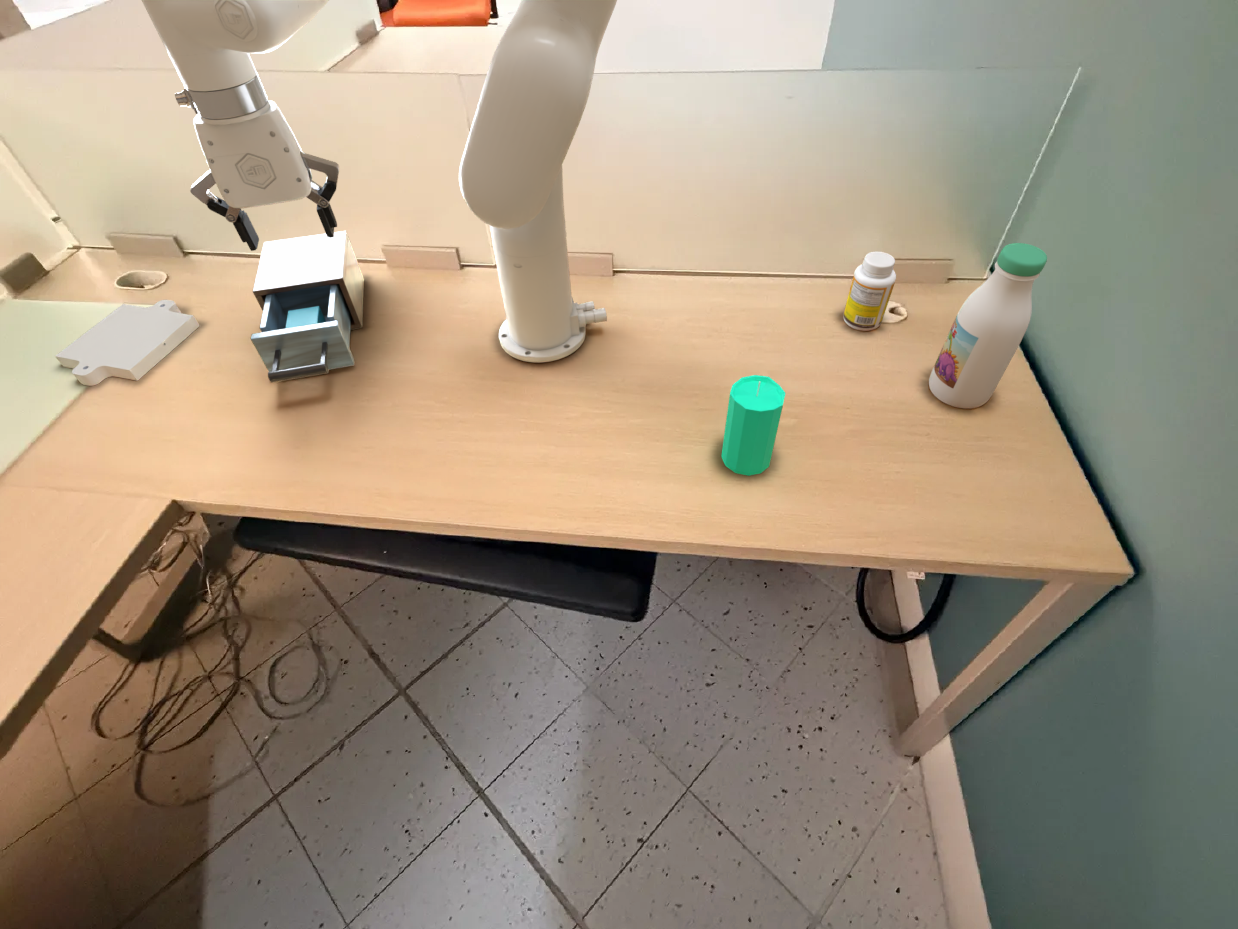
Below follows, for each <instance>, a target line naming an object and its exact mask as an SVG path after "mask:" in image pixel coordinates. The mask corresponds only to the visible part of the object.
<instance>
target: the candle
mask: <svg viewBox="0 0 1238 929" xmlns="http://www.w3.org/2000/svg"><path fill="white" fill-rule="evenodd" d="M785 398H786V391H785V390H784V388H782V386H781V385H780V384H779V383H778V382H776V381H775V379H772V378H771V377H770V376H768V375H759V374H753V375H747V376H743V377H740V378H739V379H737V381H735V382H734V383H733V384H732V385H731V388H730V391H729V396H728V404H727V411H726V418H725V425H724V434H723V440H722V446H721V455H720V458H721V460H722V462H723V464H724V466H725V467H726V468H727V469H729V470H730V471H731V472H733V473H734V474H738V475H743V476H746V477H750V476H756V475H760V474H762V473H763V472H765V471H766V470H767V469H768V468H770V465H771V460H772V456H773V452H774V446H775V443H776V438H777V433H778V429H779V425H780V421H781V415H782V411H783V406H784V403H785Z"/></svg>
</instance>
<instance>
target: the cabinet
mask: <svg viewBox="0 0 1238 929" xmlns="http://www.w3.org/2000/svg"><path fill="white" fill-rule="evenodd" d="M334 284H339V285H340V287H341V290H342V293H343V295H344V298H345V300H346V303H347V305H348V308H349V310H350V313H351V326H350V331H352V330H359V329H363V320H364V319H363V318H364V317H363V316H364V291H365V290H364V289H365V288H364V286H365V278H364V276H363V272H362V270H361V267H360V265H359V261H358V259H357V256H356V254H355V250H354V248H353V244H352V242H351V240H350V237H349V234H348V231H347V230H340V231H334V237H331V238H329V237H327V235H326V233H320V234H319V233H318V234H312V235H307V236H306V235H305V236H298V237H291V238H284V239H283V238H282V239H277V240H269V241H264V242H263V245H262V249H261V254H260V258H259V263H258V267H257V271H256V275H255V279H254V283H253V287H252V294H253V295H254V297H255V299H256V301H257V303H258V305H259V307H260V308H261V311H262V312H263V309H264V304H265V299H266V295H267V294H273V293H280V292H287V291H294V290H300V289H307V288H314V287H320V286H327V285H334Z"/></svg>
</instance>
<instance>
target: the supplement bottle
mask: <svg viewBox="0 0 1238 929" xmlns="http://www.w3.org/2000/svg"><path fill="white" fill-rule="evenodd" d="M895 263H896V259H895V257H894V256H893V255H891V254H890V253H887V252H885V251H871V252H868V253H866V254H865V256H864V259H863V261H862V264H859V265H858V266H857V267H855V270H854V273H853V277H852V280H851V285H850V288H849V291H848V295H847V299H846V303H845V306H844V310H843V313H842V314H843V315H842V318H843V321H844V322H845V324H846V325H848V327H850V328H852V329H854V330H857V331H864V332H865V331H873V330H875V329H877V328H879V327H880V326H881V325H882V323H883V320H884V317H885V314H886V311H887V308H888V304H889V301H890V299H891V296H892V293H893V290H894V286H895V283H896V280H897V272H895V270H894V266H895Z"/></svg>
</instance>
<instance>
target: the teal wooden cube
mask: <svg viewBox="0 0 1238 929" xmlns="http://www.w3.org/2000/svg"><path fill="white" fill-rule="evenodd" d="M324 322H326V320H325V318H324V316H323V314H322V311H321V309H320V307H319V306H316V307H310V308H303V309H297V310H290V311H288V316H287V322H286V328H292V327H299V326H305V325H311V324H318V323H324ZM286 328H285V329H286Z"/></svg>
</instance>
